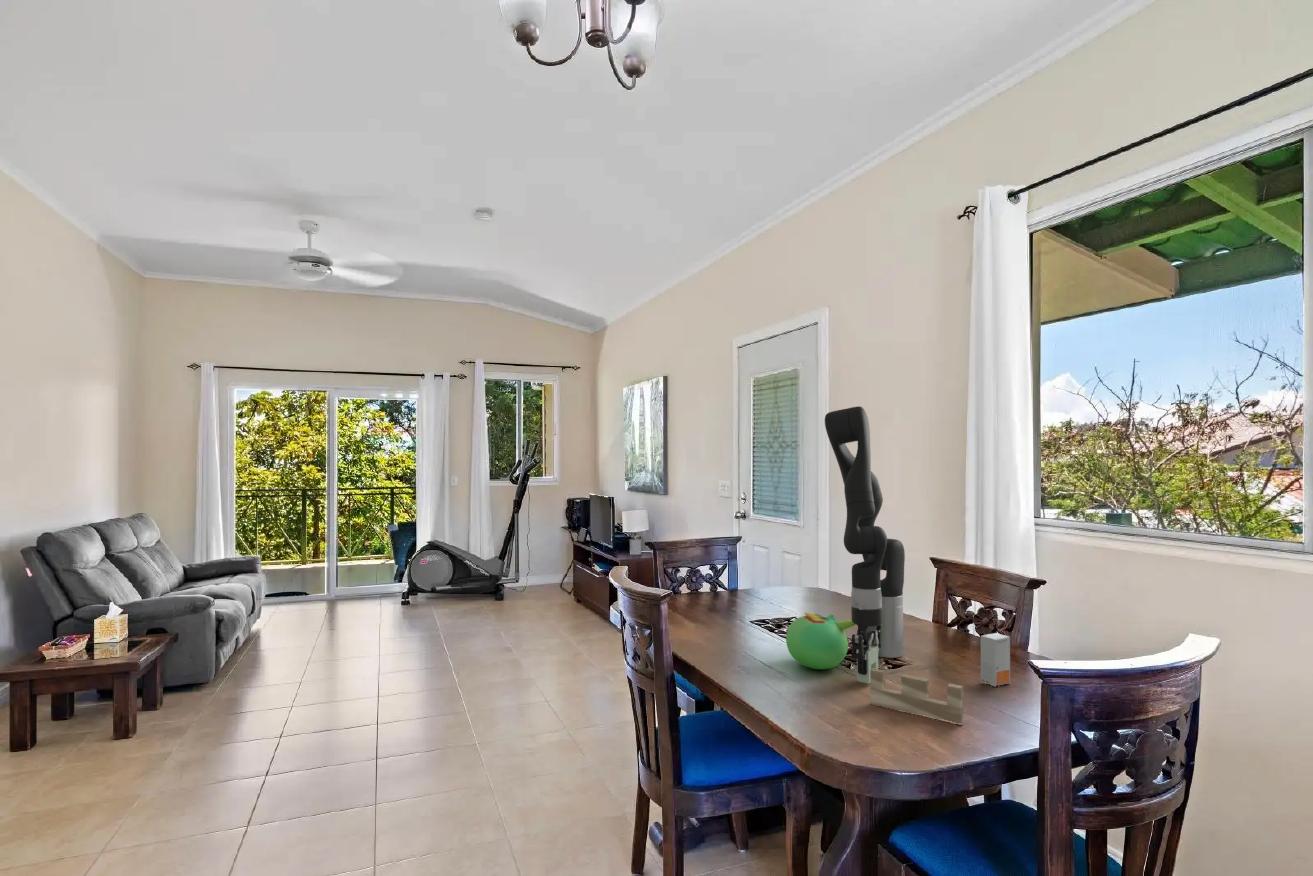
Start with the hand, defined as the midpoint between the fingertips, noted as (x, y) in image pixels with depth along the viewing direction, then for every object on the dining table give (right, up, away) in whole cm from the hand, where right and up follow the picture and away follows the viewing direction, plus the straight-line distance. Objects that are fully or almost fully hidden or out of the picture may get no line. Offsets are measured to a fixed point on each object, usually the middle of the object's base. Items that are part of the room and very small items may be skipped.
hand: (867, 670), depth 174 cm
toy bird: (-10, -4, +13) cm, 16 cm away
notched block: (0, -2, 0) cm, 2 cm away
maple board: (+4, -3, -21) cm, 21 cm away
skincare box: (+32, -3, -2) cm, 32 cm away
